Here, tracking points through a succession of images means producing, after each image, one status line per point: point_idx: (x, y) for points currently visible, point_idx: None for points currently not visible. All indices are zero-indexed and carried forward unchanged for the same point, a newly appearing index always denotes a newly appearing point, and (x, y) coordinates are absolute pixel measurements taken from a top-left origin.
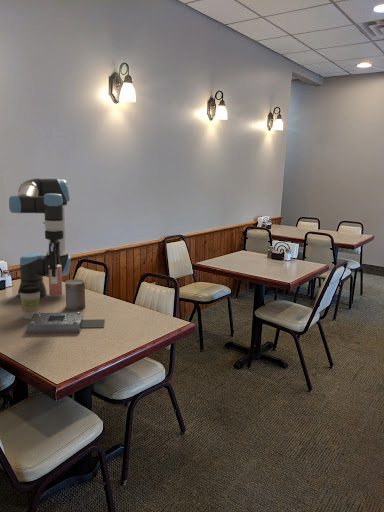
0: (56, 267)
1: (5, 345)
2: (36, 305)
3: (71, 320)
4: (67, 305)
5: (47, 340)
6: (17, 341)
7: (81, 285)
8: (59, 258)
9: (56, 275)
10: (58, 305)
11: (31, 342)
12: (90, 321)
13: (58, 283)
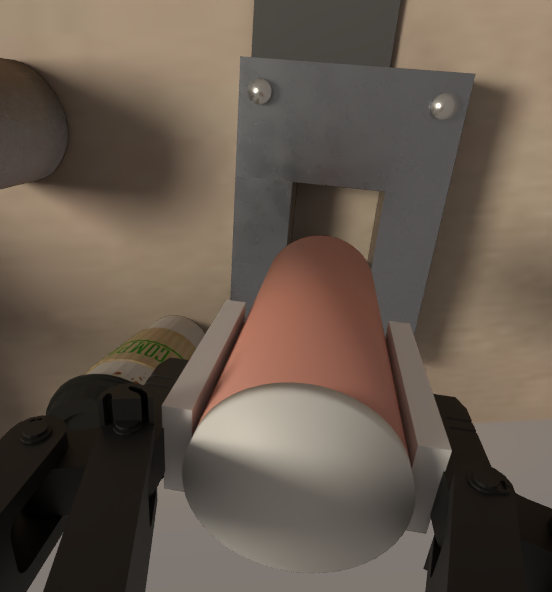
0: (490, 490)
1: (517, 417)
2: (177, 351)
3: (391, 135)
4: (40, 174)
5: (522, 255)
6: (487, 379)
7: None
8: (14, 494)
9: (427, 388)
10: (4, 224)
11: (521, 324)
12: (291, 7)
13: (377, 309)
